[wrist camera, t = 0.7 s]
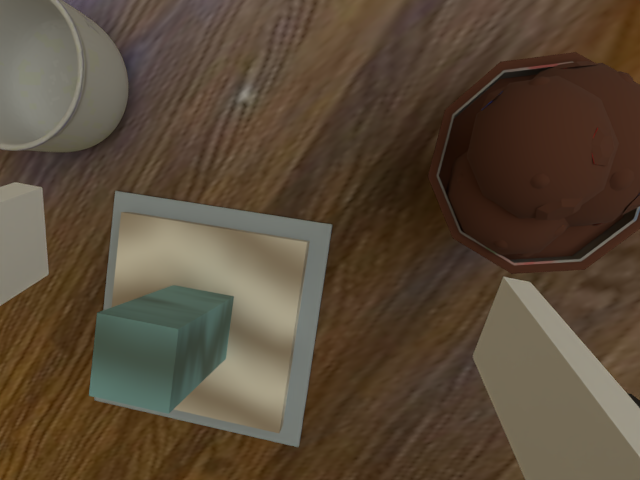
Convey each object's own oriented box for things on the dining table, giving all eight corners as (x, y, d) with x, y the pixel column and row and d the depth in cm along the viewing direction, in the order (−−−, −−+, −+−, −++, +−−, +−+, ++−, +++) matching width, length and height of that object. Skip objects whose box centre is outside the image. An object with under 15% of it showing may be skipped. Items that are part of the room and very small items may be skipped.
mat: (299, 444, 34) (298, 447, 33) (97, 398, 36) (94, 400, 36) (332, 224, 32) (331, 224, 31) (118, 191, 34) (115, 191, 34)
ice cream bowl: (451, 277, 31) (515, 340, 16) (394, 138, 31) (405, 72, 16) (596, 222, 29) (818, 237, 14) (536, 75, 29) (698, -64, 14)
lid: (282, 425, 33) (241, 516, 23) (112, 387, 35) (7, 456, 25) (309, 241, 32) (277, 255, 22) (130, 212, 34) (26, 213, 24)
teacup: (152, 29, 33) (79, -28, 25) (145, 167, 34) (73, 154, 26) (-2, 24, 35) (-115, -30, 27) (-5, 155, 36) (-114, 139, 28)
